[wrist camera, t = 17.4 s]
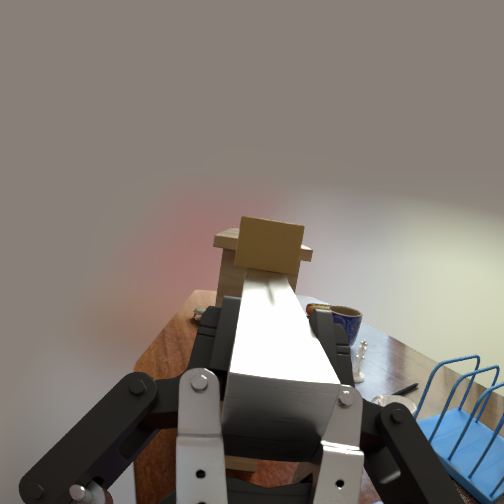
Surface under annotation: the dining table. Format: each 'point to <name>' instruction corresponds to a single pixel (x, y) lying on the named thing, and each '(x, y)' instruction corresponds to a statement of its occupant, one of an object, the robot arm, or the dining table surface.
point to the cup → (395, 398)
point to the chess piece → (359, 363)
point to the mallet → (274, 355)
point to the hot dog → (315, 307)
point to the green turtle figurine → (198, 312)
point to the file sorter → (467, 441)
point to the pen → (406, 389)
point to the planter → (347, 321)
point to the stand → (233, 286)
